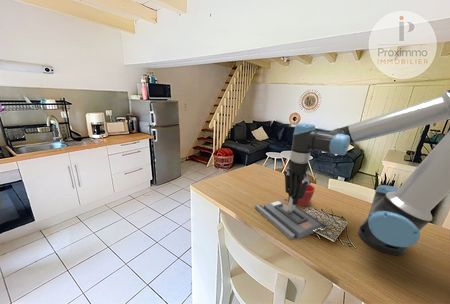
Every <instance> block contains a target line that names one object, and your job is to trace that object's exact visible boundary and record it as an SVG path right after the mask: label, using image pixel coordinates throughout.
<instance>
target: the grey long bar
mask: <svg viewBox="0 0 450 304" xmlns="http://www.w3.org/2000/svg"><path fill="white" fill-rule="evenodd" d="M254 208H255V210H256V211H257V212H259V213H260V214H261V215H262V216H263V217H264V218H265V219H266V220H268V221H269V222H270V224H272V225H274V226H275V228H277V229H278V230H279V231H280V232H281V233H282V234H283V235H285V236H286V237H287V238H288V239H289V240H294V239H297V238H296V236H297V235H296V234H295V233H294V232H293V231H291V230H290V229H289V228H288V227H286V226H285V225H284V224H283V223H282V222H280V221H279V220H278V219H277V218H275V217H274V216H273V215H272V214H271V213H269V212H268V211H267V210H266V209H264V206H262V205H261V204H255V205H254Z"/></svg>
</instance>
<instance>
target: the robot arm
mask: <svg viewBox="0 0 450 304" xmlns="http://www.w3.org/2000/svg"><path fill="white" fill-rule="evenodd" d="M447 120H450V89H448V90H444V91H443V93H442V94H440V96H436V97H433V98H431V99H428V100H424V101H421V102H418V103H414V104H411V105H408V106H405V107H402V108H399V109H395V110H392V111H390V112H386V113H382V114H380V115H376V116H374V117H370V118H368V119H365V120H360V121H358V122H355V123H350V124H348V125H346V126H345V125H344V126H343V127H337V128H335V129H333V130H331V131H322V130H316V125H315V124H312V123H304V122H303V123H301V122H299V123H297V124H296V125H295V126H294V129H293V130H294V131H293V134H292V143H291V144H292V145H291V148H290V149H291V150H290V156H289V159H290V160H289V164H288V170H285V171H283V175H284V185H285V186H284V187H285V189H284V190H285V193H286V194H288V199H287V200H288V202H289V206H288V210H290V211H292V210H295V206H297V201H298V199H301V198H303V195H304V193H305V191H306V189H307V187H308V185H311V184H312V182H311V180H308V179H307V173H308V170H309V169H308V168H309V162H310V158H311V153H312V152H311V151H312V150H313V151H318V152H322V153H328V154H332V155H338V156H345V155H346V154H347V152H348V150H349V148H350V145H353V144H357V143H360V142H364V141H367V140H373V139H376V138H380V137H384V136H388V135H393V134H397V133H399V132H404V131H407V130H412V129H415V128H420V127H424V126H428V125H433V124H435V123H440V122H443V121H447ZM302 183H303V184H302ZM301 184H302V186H301ZM300 187H301V188H300ZM374 191H375V193H374V196H373V200H372V203H371V205H370V209H369V213H368V215H367V218H365V220H364V221H363V222H362V223H361V224H360V225H359V227H358V231H357V233H358V236H359V237H360V239H361V240H362V241H363V242H364V243H365V244H367V245H368V246H370V247H371V248H373V249H374V250H377V251H378V252H381V253H385V254H388V255H391V256H402V255H405V253H406V252H407V250H408V247H412V246H414V245H416V244H417V243H418V241H419V239H420V237H421V233H420V231H422V229H423V228H424V227H425V226H427V225H428V224H429V223H430V222H432V220H433V215H432V213H431V211H432V210H433V209H434V208H435V207H436V206H437V205H438V204H439V203H440V202H441V201H443V199H444V198H446V197H447V195H449V194H450V130H448V131H447V133H446V134H445V135H444V136H443V137H442V139H441V140H440V141H439V142H438V143H437V144H436V146H434V148H432V150H431V151H430V152H429V153H428V154H427V156H425V158H423V160H422V161H421V162H420V163H419V165H417V167H416V168H415V169H414V170H413V172H412V173H411V174H410V175H409V176H408V177H407V178H406V179H405V180H404V181H403V183H402V184H401V185H400V186H399V187H396V186H392V185H386V184H381V185H378V186H377V187H376V189H375V190H374Z"/></svg>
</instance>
